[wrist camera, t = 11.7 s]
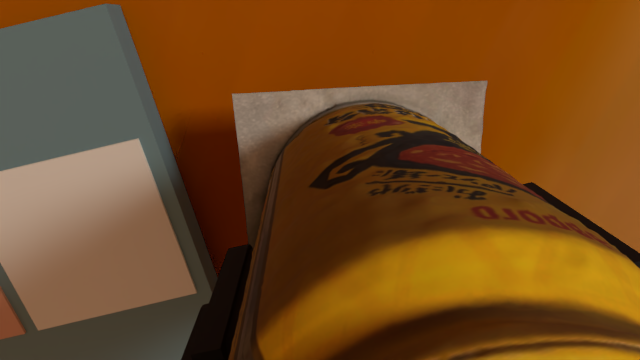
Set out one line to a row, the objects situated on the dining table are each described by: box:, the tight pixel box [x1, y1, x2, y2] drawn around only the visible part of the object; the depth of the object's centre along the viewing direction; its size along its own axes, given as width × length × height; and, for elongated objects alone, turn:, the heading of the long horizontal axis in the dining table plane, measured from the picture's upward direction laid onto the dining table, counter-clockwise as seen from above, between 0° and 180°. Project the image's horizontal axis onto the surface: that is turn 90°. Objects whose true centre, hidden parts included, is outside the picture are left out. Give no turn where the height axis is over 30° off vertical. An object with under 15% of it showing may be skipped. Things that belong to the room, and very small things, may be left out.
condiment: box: [228, 81, 640, 360], centre depth 8 cm, size 7×8×12 cm
